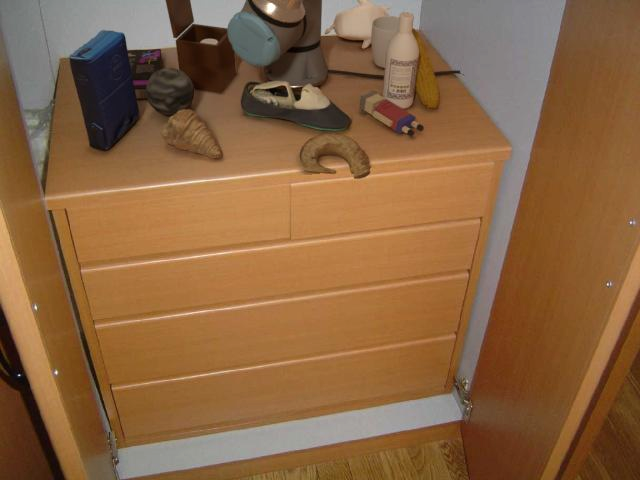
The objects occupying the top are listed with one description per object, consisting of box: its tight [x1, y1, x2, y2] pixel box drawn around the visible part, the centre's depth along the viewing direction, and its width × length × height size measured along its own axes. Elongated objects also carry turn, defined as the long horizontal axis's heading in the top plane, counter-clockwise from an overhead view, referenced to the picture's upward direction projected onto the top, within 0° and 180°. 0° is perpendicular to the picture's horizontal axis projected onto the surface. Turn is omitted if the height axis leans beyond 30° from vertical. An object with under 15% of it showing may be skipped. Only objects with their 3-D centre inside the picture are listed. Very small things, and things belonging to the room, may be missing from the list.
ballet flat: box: [240, 81, 352, 132], centre depth 139 cm, size 8×24×8 cm, turn 72°
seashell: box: [160, 109, 222, 159], centre depth 131 cm, size 14×8×8 cm
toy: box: [359, 89, 425, 137], centre depth 141 cm, size 6×4×15 cm
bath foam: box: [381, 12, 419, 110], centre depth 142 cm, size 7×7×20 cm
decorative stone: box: [146, 67, 196, 117], centre depth 140 cm, size 10×10×10 cm
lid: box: [165, 0, 195, 39], centre depth 144 cm, size 11×9×1 cm
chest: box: [175, 23, 237, 94], centre depth 150 cm, size 10×9×11 cm
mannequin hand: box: [324, 0, 391, 50], centre depth 169 cm, size 12×18×12 cm
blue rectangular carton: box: [68, 29, 140, 152], centre depth 129 cm, size 14×5×20 cm, turn 164°
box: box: [127, 48, 163, 100], centre depth 153 cm, size 14×4×20 cm
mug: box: [370, 15, 399, 69], centre depth 158 cm, size 13×9×10 cm
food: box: [412, 27, 441, 110], centre depth 148 cm, size 21×6×6 cm
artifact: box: [299, 132, 372, 180], centre depth 129 cm, size 12×3×15 cm
